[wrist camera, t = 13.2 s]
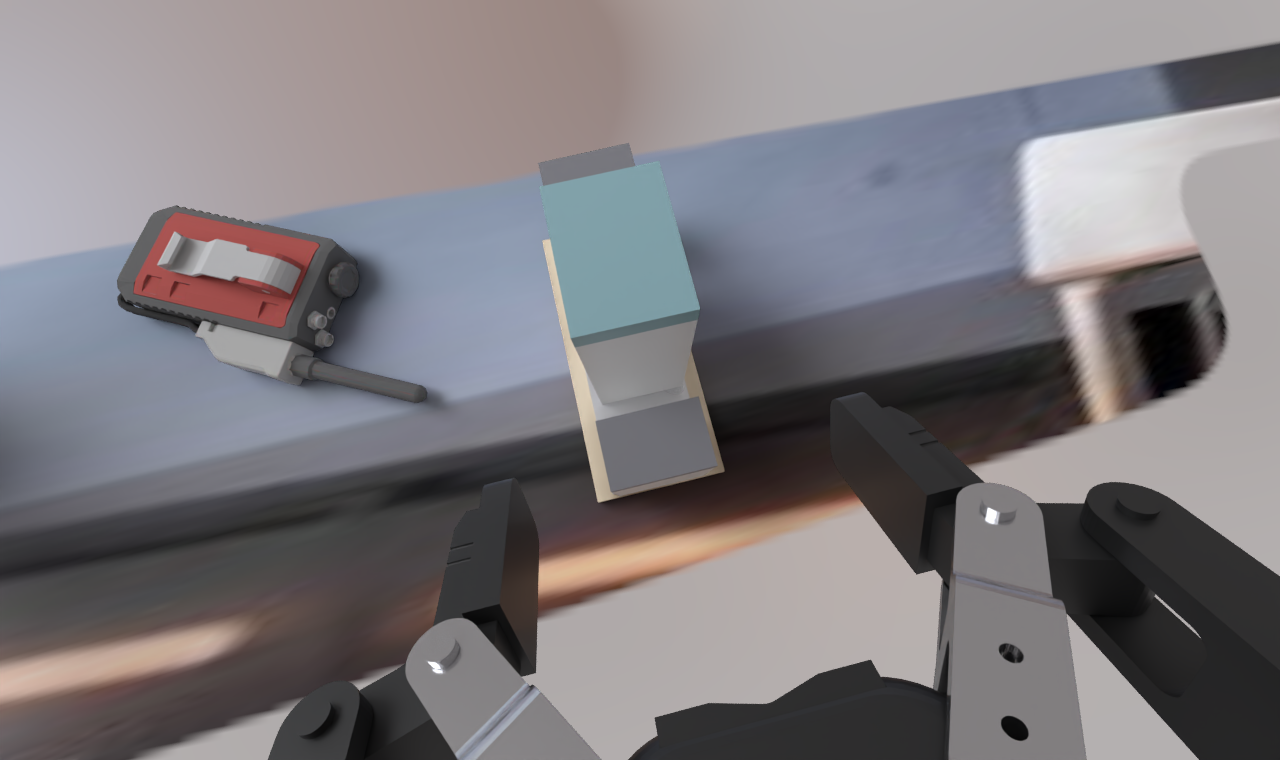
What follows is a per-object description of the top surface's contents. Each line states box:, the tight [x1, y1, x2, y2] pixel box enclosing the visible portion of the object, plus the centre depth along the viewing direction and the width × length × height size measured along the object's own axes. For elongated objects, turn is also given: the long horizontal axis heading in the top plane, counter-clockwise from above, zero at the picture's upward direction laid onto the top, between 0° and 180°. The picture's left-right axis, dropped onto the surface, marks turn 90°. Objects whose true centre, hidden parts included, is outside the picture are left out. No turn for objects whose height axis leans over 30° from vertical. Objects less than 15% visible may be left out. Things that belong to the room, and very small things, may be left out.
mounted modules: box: [538, 143, 718, 496], centre depth 26 cm, size 4×16×6 cm, turn 13°
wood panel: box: [543, 239, 725, 503], centre depth 30 cm, size 7×16×1 cm, turn 13°
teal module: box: [539, 161, 700, 405], centre depth 23 cm, size 4×6×11 cm
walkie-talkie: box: [117, 205, 427, 403], centre depth 30 cm, size 9×4×20 cm
